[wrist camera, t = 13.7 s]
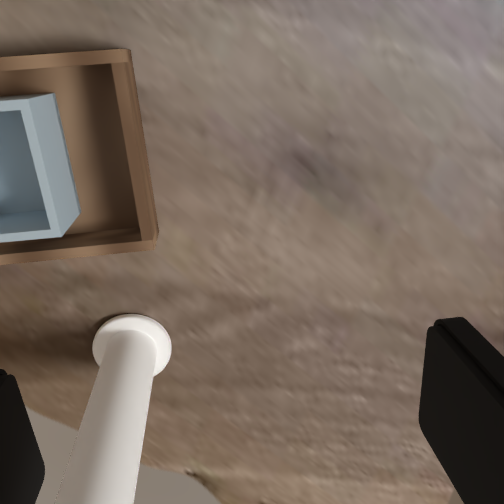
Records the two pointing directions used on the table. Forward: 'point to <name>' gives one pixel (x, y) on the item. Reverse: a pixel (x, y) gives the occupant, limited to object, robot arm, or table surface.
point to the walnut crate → (91, 152)
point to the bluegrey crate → (34, 170)
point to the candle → (115, 412)
